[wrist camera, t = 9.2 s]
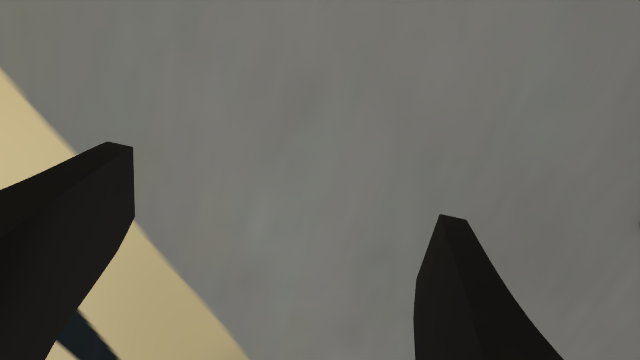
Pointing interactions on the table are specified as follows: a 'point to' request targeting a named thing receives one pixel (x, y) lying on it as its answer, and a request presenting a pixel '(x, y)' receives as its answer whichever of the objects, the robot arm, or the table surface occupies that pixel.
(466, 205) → the table surface
